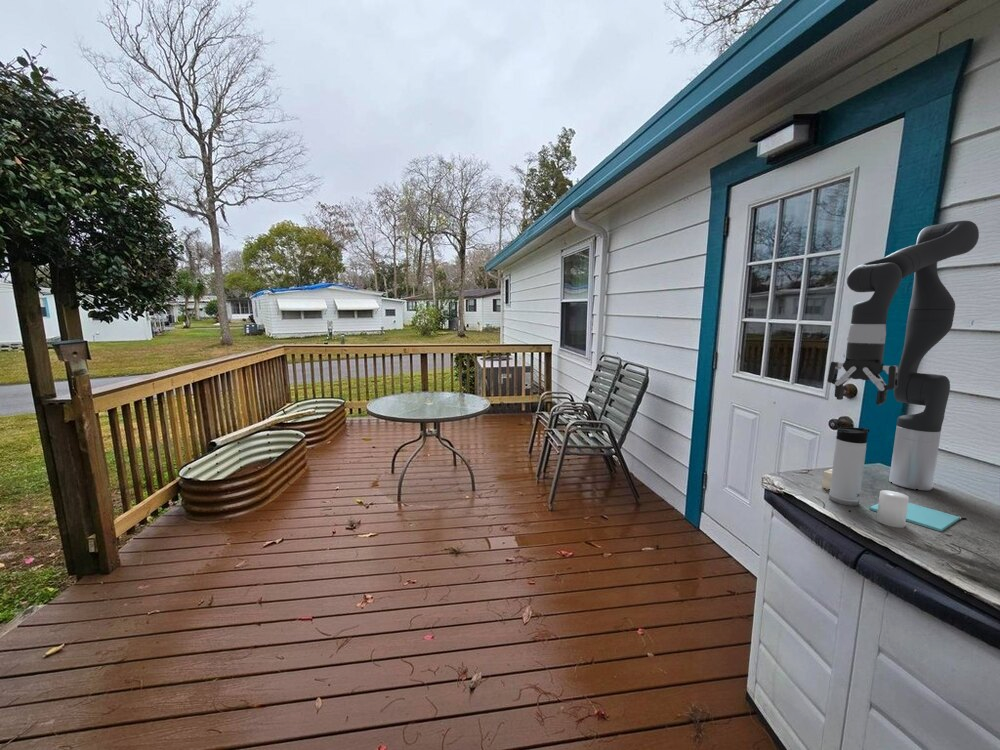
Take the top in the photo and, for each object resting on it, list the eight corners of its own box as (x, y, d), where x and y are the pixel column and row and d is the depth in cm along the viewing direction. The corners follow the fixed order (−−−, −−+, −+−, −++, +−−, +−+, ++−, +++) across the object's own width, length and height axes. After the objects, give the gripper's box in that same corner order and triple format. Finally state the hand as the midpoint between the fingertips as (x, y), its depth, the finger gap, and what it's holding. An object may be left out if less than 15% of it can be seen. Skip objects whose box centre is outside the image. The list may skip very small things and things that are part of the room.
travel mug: (866, 507, 108) (876, 431, 106) (837, 504, 109) (846, 430, 107) (851, 497, 114) (860, 425, 112) (823, 495, 115) (832, 424, 113)
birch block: (830, 485, 123) (831, 468, 123) (850, 491, 119) (852, 474, 119) (821, 488, 121) (823, 471, 120) (842, 494, 117) (844, 477, 116)
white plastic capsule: (881, 516, 103) (884, 488, 102) (908, 524, 99) (912, 496, 98) (872, 520, 101) (876, 492, 100) (900, 529, 96) (904, 500, 96)
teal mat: (890, 499, 113) (890, 497, 113) (959, 519, 102) (959, 517, 102) (869, 509, 107) (869, 507, 107) (941, 531, 96) (941, 529, 96)
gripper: (907, 342, 106) (898, 405, 108) (839, 340, 119) (833, 396, 121) (896, 343, 103) (887, 408, 105) (827, 340, 115) (821, 398, 117)
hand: (858, 401), depth 113 cm, fingers open, 8 cm apart
